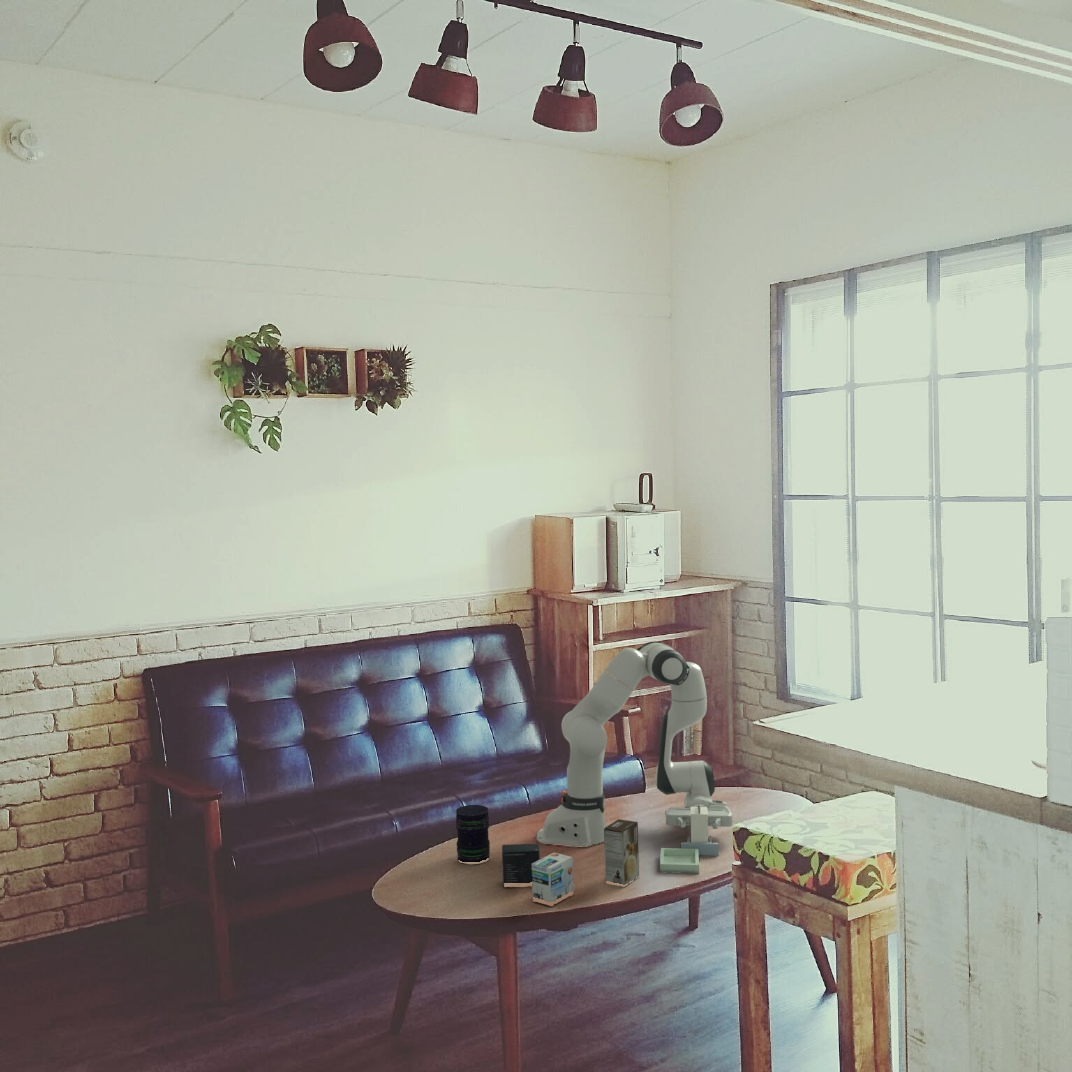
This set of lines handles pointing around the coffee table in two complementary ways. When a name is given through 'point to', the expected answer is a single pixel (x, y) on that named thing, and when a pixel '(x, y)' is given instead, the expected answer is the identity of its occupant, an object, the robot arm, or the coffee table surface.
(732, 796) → the coffee table surface
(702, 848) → the dock
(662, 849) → the tray
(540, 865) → the light bulb box
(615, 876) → the coffee box
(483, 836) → the storage jar
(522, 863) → the box
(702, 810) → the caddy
